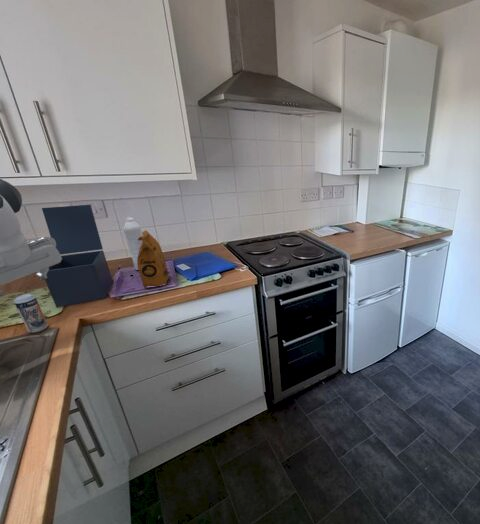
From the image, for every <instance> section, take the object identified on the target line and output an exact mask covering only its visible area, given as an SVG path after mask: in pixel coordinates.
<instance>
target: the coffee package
mask: <svg viewBox="0 0 480 524" xmlns="http://www.w3.org/2000/svg"><path fill="white" fill-rule="evenodd" d="M142 235H143V236H142V237H139V239H138V240H139V241H141V240H142V241H143V242H142V244H141V246H140V250H139V254H138V258H137V266H138V269H139V271H138V273H139V276H140V279H141V282H142V286H143V287H144V288H145V287H147V286H160V285H163V284H165V283H166V284H167V282H168V281H169V280H170V273H169V270H168V266H167V263H166V259H165V255H164V253H163V250H162V248H161V245H160V243H159V242H158V240H157V239H156V238H155V237H154V236H153V235H152V234H151V233H150V232H149V231H148V230H147V229H146V230H143V231H142ZM168 279H169V280H168ZM167 280H168V281H167Z"/></svg>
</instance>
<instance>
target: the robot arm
mask: <svg viewBox="0 0 480 524" xmlns="http://www.w3.org/2000/svg"><path fill="white" fill-rule="evenodd" d="M22 205H23V197H22V194H21V192H20V191H19V190H18V189H17V187H15V186H14V185H13V184H12V183H10V182H9V181H6V180H4V179H2V178H0V287H1V286H4V285H7V284H9V283H11V282H15V281H17V280H19V279H21V278H24V277H27V276H29V275H32V274H35V275H36V277H37V279H38V280H40V281H43V280H44V281H45V279H46V278H47V276H46V274H47V272H48V270H49V267H50V266H53V265H55V264H58V263H60V262H61V260H62V257H61V256H62V255H60V253H59V251H58V250H57V249H56V242H55V239H53V238H51V236H50V237H49V236H48V237H47V236H44V237H41V238H39V239H34V240H31V241H28V240H27V238H26V235H24V233H22V232H21V224H20V223H21V222H20V221H19V219H18V217H17V215H16V213H18V212H20V210H21V208H22ZM5 296H6V293H5V291H4V290H2V289H1V288H0V298H2V297H5Z"/></svg>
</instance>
